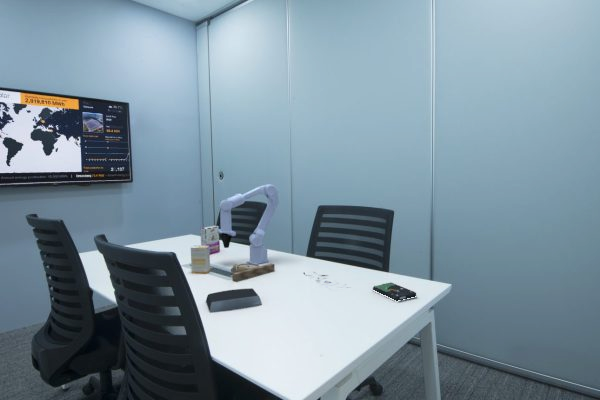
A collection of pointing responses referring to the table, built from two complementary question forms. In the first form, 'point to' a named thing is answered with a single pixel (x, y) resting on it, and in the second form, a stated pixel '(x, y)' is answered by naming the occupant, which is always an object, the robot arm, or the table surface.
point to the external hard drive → (232, 300)
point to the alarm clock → (243, 267)
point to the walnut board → (253, 272)
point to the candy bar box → (210, 238)
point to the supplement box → (200, 259)
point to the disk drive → (394, 291)
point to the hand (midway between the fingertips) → (226, 247)
